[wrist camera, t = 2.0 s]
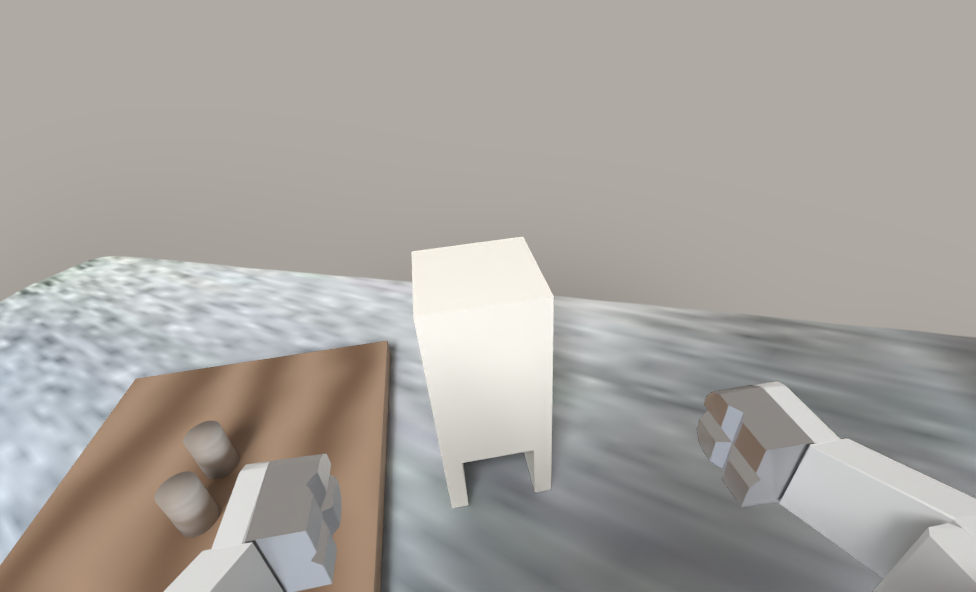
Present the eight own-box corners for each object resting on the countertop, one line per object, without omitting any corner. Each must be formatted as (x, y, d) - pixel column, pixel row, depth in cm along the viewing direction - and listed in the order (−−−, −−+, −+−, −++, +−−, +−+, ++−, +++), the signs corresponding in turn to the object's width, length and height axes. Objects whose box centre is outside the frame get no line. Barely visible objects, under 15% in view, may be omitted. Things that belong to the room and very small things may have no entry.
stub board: (390, 354, 38) (379, 311, 36) (374, 729, 18) (348, 692, 16) (145, 392, 36) (115, 350, 34) (-167, 853, 17) (-292, 833, 14)
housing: (528, 414, 32) (523, 236, 24) (551, 489, 27) (553, 296, 19) (444, 428, 31) (411, 251, 23) (451, 508, 26) (413, 317, 19)
